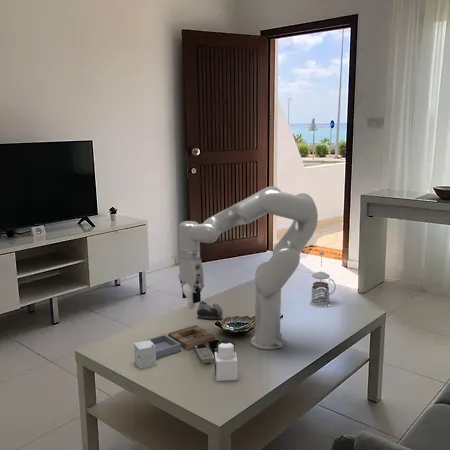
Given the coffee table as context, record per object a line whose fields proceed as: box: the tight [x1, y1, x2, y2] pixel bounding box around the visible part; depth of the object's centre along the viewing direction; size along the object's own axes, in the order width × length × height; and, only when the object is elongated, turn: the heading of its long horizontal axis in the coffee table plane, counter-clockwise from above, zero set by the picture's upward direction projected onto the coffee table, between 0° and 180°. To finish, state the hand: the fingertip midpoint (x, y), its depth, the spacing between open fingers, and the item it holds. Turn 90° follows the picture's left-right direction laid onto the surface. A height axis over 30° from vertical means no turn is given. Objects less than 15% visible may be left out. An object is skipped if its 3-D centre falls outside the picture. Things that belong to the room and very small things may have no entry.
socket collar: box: [167, 324, 216, 352], centre depth 194 cm, size 13×13×2 cm
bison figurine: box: [196, 300, 223, 320], centre depth 218 cm, size 12×7×10 cm
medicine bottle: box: [214, 339, 239, 382], centre depth 166 cm, size 7×7×12 cm
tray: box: [140, 334, 182, 361], centre depth 185 cm, size 11×11×3 cm
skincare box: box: [133, 339, 157, 370], centre depth 175 cm, size 6×6×7 cm
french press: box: [309, 251, 336, 308], centre depth 230 cm, size 10×12×25 cm
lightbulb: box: [183, 283, 197, 310], centre depth 190 cm, size 6×6×11 cm
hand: (191, 299), depth 191 cm, fingers closed on lightbulb, 6 cm apart
